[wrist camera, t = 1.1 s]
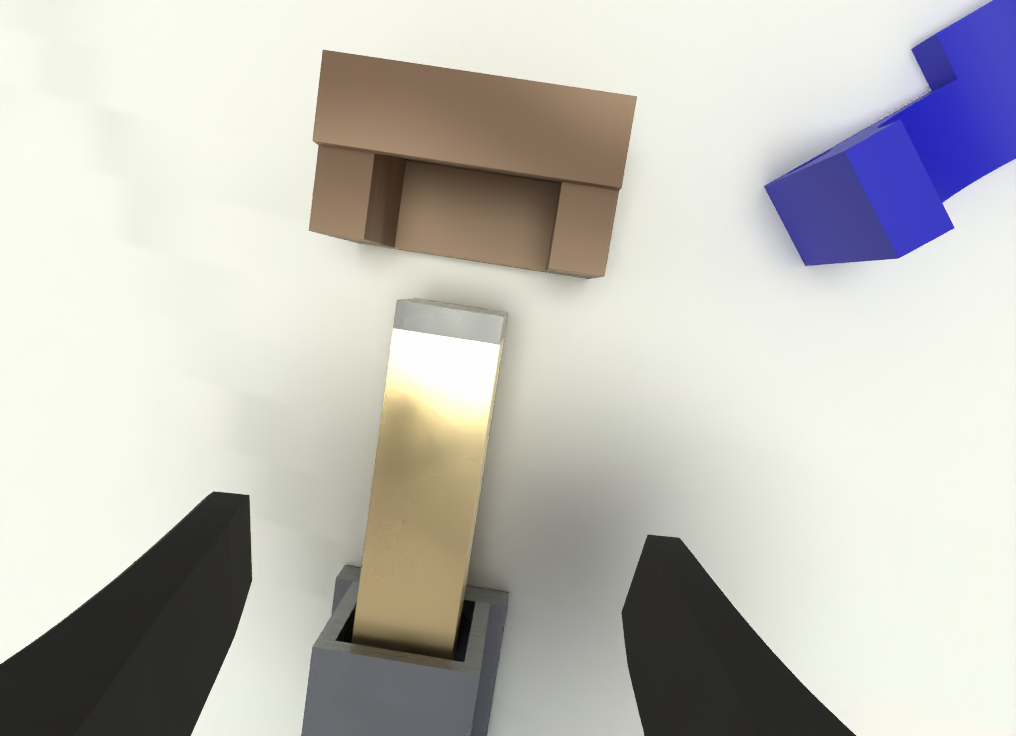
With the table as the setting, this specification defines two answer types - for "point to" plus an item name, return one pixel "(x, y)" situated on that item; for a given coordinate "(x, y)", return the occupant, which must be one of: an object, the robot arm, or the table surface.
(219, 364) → the table surface
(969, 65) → the cable clip
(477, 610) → the sleeve
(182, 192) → the table surface
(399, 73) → the socket block
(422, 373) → the tube
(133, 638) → the robot arm
